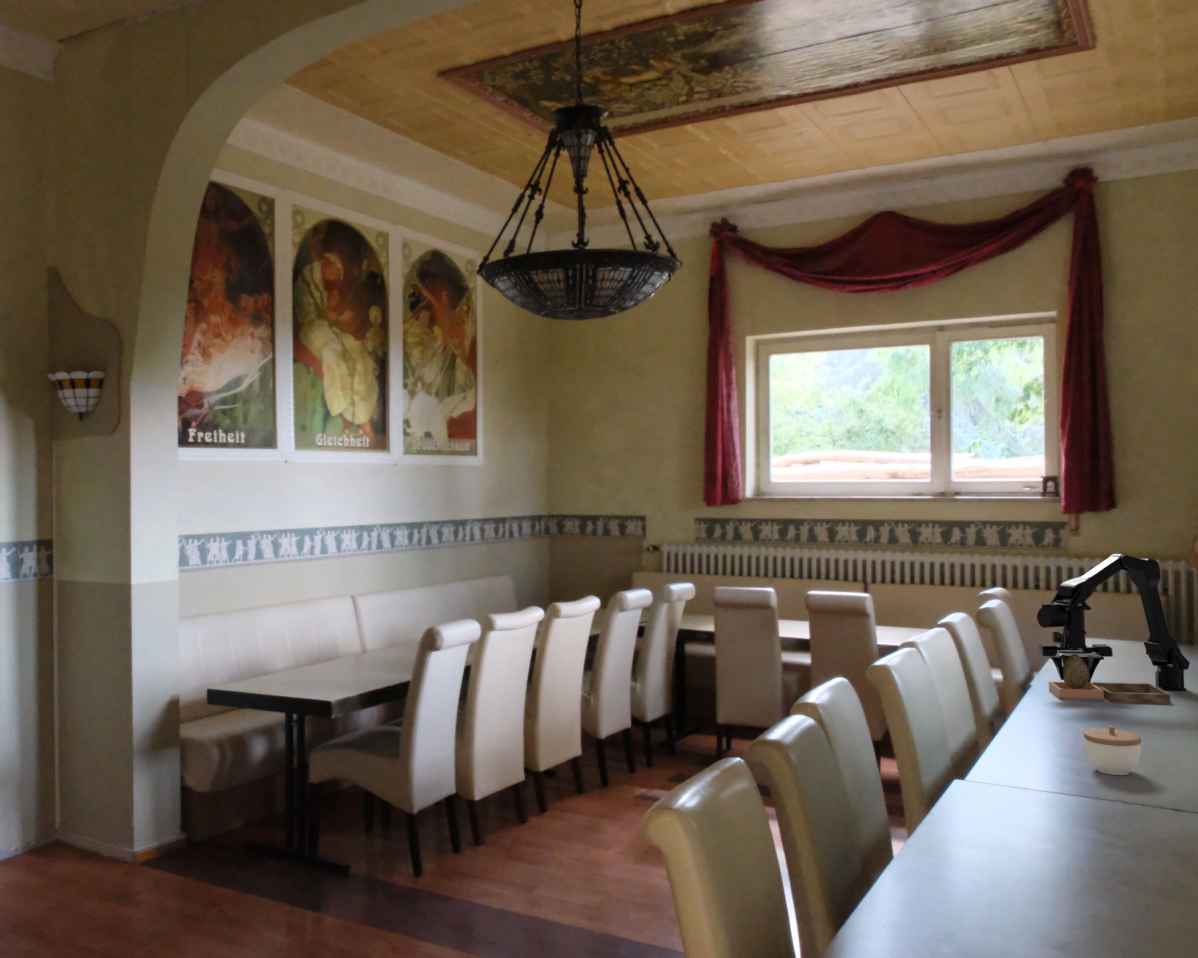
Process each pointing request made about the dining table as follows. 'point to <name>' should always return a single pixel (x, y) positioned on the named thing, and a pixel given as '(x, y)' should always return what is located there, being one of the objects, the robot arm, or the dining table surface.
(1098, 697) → the terracotta dish
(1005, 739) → the dining table surface
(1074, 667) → the decorative egg
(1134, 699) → the tray
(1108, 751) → the lidded jar
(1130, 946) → the dining table surface
